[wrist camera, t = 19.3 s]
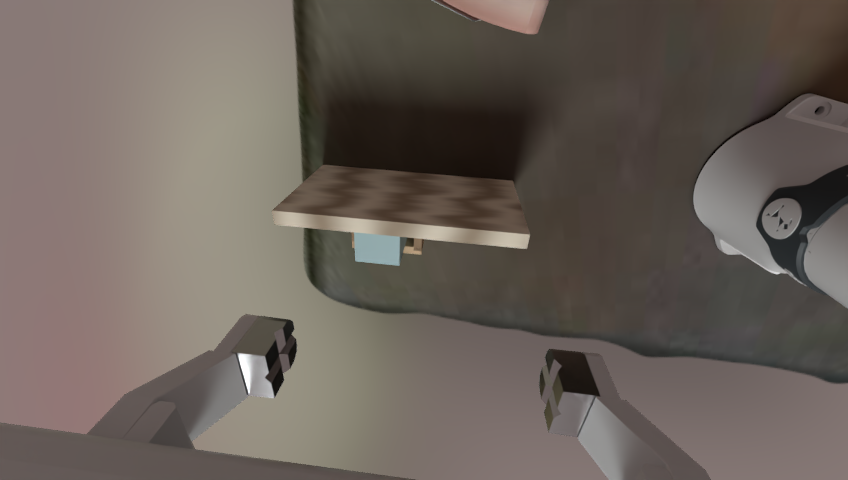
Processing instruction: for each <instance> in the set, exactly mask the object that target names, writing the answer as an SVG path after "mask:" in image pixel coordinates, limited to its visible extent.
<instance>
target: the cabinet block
mask: <svg viewBox="0 0 848 480" xmlns="http://www.w3.org/2000/svg"><path fill="white" fill-rule="evenodd" d="M406 241H407V237H397V236H387V235H376V234H366V233H356V232H354V242H355V261H358V262H368V263H378V264H388V265H398V266H399V265H400V261H401V258H402V255H403V251H404V248H405V244H406Z"/></svg>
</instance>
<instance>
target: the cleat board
mask: <svg viewBox="0 0 848 480" xmlns="http://www.w3.org/2000/svg"><path fill="white" fill-rule="evenodd" d="M272 213H273V219H274V224H275V225H283V226H294V227H303V228H314V229H324V230H335V231H345V232H352V248H355V242H354V232H356V233H366V234H376V235H387V236H397V237H407V241H406V244H405V248H404V251H403V253H410V254H420V255H421V253H422V248H423V243H424V239H429V240H439V241H450V242H460V243H470V244H481V245H491V246H502V247H512V248H523V249H527V246H528V242H529V237H530V233H529V230H528V227H527V224H526V220H525V217H524V214H523V211H522V208H521V205H520V202H519V199H518V195H517V192H516V189H515V186H514V183H513V181H510V180H498V179H486V178H475V177H463V176H451V175H439V174H427V173H415V172H404V171H392V170H380V169H368V168H356V167H344V166H333V165H322V166H321V167H320V168H319V169H318V170H317V171H315V172H314V173H313V174H312V175H311V176H310V177H309V178H308V179H307V180H305V181H304V182H303V183H302V184H301V185H300V186H299V187H298V188H297V189H295V190H294V191H293V192H292V193H291V194H290V195H289V196H288V197H287V198H286V199H284V200H283V201H282V202H281V203H280V204H279V205H278V206H277V207H276V208H274V209H273V210H272Z"/></svg>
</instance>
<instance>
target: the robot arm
mask: <svg viewBox="0 0 848 480" xmlns="http://www.w3.org/2000/svg"><path fill="white" fill-rule="evenodd" d="M818 107H819V109H818V111H817V112H815V110H816V109H817V108H818ZM693 200H694V208H695V211H696V214H697V216H698V217H699V219H700V220H701V222H702V223H703V224H704V225H705V226H706V227H707V228H709V229H710V230H711V231H712V233H713V234H714V237H715V241H716V245H717V247H718V249H719V250H721V251H722V252H724V253H726V254H729V255H734V254H742V255H744V256H746V257H747V258H749V259H750V260H752V261H753V262H755V263H756V264H758V265H760V266H761V267H763V268H764V269H766V270H767V271H769V272H771V273H774V274H779V273H788V274H789V275H790V276H791V277H792V278H794V279H795V280H797V281H798V282H800V283H801V284H804V285H805V286H808V287H809V288H811V289H812V290H814V291H816V292H818V293H821V294H824V295H828V296H831V297H832V298H833V299H835V300H836V301H838V302H839V303H840V304H842V305H843V306H845V307H846V308H847V309H848V104H846V103H843V102H839V101H836V100H832V99H829V98H826V97H822V96H819V95H816V94H804V95H801V96H800V97H798V98H796V99H795V100H793V101H792V102H791V103H789V104H788V105H787V106H785V107H784V108H783V109H782V110H780V111H779V112H778V113H777V114H776V115H774V116H773V117H771V118H769V119H767V120H765V121H762V122H760V123H758V124H756V125H753V126H751V127H749V128H747V129H745V130H743V131H742V132H740V133H738V134H737V135H735V136H734V137H732V138H731V139H730V140H728V141H727V142H726V143H725V144H723V145H722V146H721V147H720V148H719V149H718V150H717V151H716V152H715V153H714V154H713V155H712V156H711V158H710V159H709V160H708V162H707V163H706V164H705V166H704V167H703V169H702V171H701V173H700V175H699V177H698V179H697V182H696V185H695V189H694V197H693ZM293 331H294V325H293V321H291V320H287V319H280V318H273V317H265V316H255V315H248V314H246V315H244V316H242V317H241V318H240V319H239V320H238V322H237V323H236V324H235V325H234V327H233V328H232V329H231V330H230V331H229V333H228V334H227V335H226V336H225V338H224V339H223V340H222V341H221V343H220V344H219V345H218V346H217V348H216V349H215V350H214V351H207V352H205V353H203V354H202V355H200V356H198V357H196V358H194V359H192V360H190V361H188V362H186V363H184V364H182V365H180V366H178V367H177V368H175V369H173V370H171V371H169V372H167V373H165V374H163V375H161V376H160V377H158V378H155V379H154V380H152V381H150V382H148V383H146V384H144V385H142V386H140V387H138V388H136V389H134V390H133V391H131V392H129V393H127V394H125V395H124V396H123V397H122V398H121V399H120V400H119V401H118V402H117V403H116V404H115V405H114V406H113V407H112V408H111V409H110V410H109V411H108V412H107V414H106V415H105V416H104V417H103V418H102V419H101V420H100V421H99V422H98V423H97V424H96V425H95V426H94V427H93V428H92V429H91V430H90V431H89V432H88V433H87V434H79V433H72V432H65V431H58V430H50V429H43V428H36V427H28V426H21V425H14V424H7V423H0V480H414V479H407V478H400V477H392V476H385V475H377V474H371V473H363V472H356V471H348V470H341V469H334V468H327V467H320V466H312V465H305V464H297V463H291V462H283V461H276V460H268V459H261V458H254V457H247V456H240V455H232V454H225V453H218V452H209V451H203V450H196V449H195V448H194V446H193V443H192V441H193V440H194V439H195V438H197V437H198V436H199V435H200V434H202V433H203V432H204V431H206V430H207V429H208V428H209V427H211V426H212V425H213V424H214V423H216V422H217V421H218V420H219V419H221V418H222V417H223V416H224V415H226V414H227V413H228V412H230V411H231V410H232V409H233V408H235V407H236V406H237V405H238V404H240V403H241V402H242V401H243V400H245V399H246V398H247V397H248V396H259V397H268V398H275V396H276V395H277V393H278V391H279V389H280V387H281V385H282V383H283V381H284V376H283V373H284V372H286V371H287V370H289V369H290V368H291V366H292V364H293V362H294V360H295V356H296V352H297V343H296V339H295V338H294V337H293V336H292V335H291V334H292V332H293ZM545 360H546V364H547V365H545V366H544V367H542V369H541V373H540V380H539V388H540V395H541V399H542V400H543V401H544V403H545V404H546V407H545V410H544V415H545V419H546V424H547V429H548V432H549V433H554V434H561V435H566V436H573V437H578V440H579V441H580V443H581V444H582V445H583V447H584V448H585V449H586V450H587V452H588V453H589V454H590V456H591V457H592V458H593V459H594V461H595V462H596V463H597V465H598V466H599V467H600V469H601V470H602V471H603V473H604V474H605V475H606V477H607V478H608V479H609V480H711V479H710V477H709V476H708V474H707V472H706V470H705V469H703V468H702V467H701V466H700V465H699V464H698V463H697V462H695V461H694V460H693V459H692V458H691V457H690V456H689V455H688V454H686V453H685V452H684V451H683V450H682V449H681V448H680V447H678V446H677V445H676V444H675V443H674V442H673V441H672V440H671V439H669V438H668V437H667V436H666V435H665V434H664V433H663V432H661V431H660V430H659V429H658V428H657V427H656V426H655V425H653V424H652V423H651V422H650V421H649V420H648V419H647V418H646V417H644V416H643V415H642V414H641V413H640V412H638V410H636V409H635V408H634V407H633V406H632V405H631V404H630V403H629V402H627V401H626V400H621V399H620V397H619V394H618V392H617V390H616V387H615V385H614V383H613V381H612V379H611V376H610V374H609V372H608V369H607V367H606V365H605V362H604V360H603V358H602V356H601V355H600V354H595V353H585V352H582V353H581V352H575V351H564V350H555V349H549V350H548V351H547V353H546V356H545ZM247 395H248V396H247Z"/></svg>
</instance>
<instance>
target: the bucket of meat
mask: <svg viewBox="0 0 848 480" xmlns="http://www.w3.org/2000/svg"><path fill="white" fill-rule="evenodd" d="M432 1H434V2H436V3H438V4H440V5H442V6H444V7H446V8H448V9H450V10H452V11H454V12H456V13H458V14H460V15H462V16H464V17H466V18H468V19H470V20H472V21H479V20H483V21H486V22H489V23H491V24H494V25H497V26H500V27H503V28H507V29H510V30H514V31H518V32H522V33H526V34H536V33H538V31H539V28H540V25H541V22H542V19H543V17H544V14H545V11H546V8H547V5H548V2H549V0H432Z"/></svg>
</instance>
